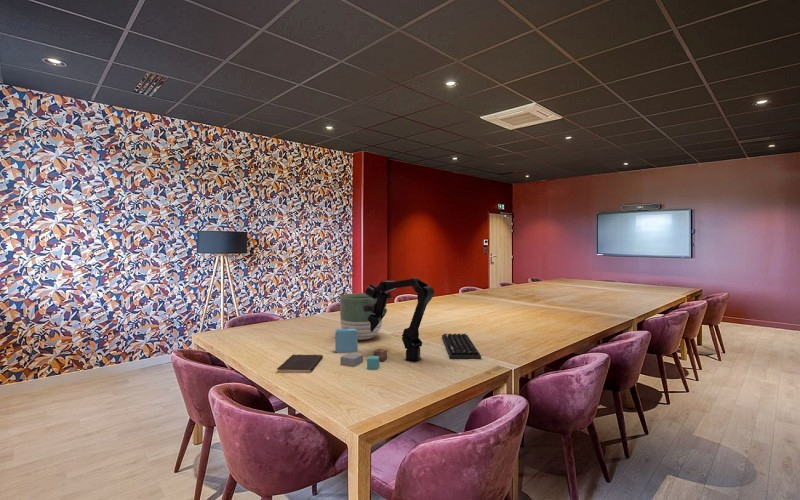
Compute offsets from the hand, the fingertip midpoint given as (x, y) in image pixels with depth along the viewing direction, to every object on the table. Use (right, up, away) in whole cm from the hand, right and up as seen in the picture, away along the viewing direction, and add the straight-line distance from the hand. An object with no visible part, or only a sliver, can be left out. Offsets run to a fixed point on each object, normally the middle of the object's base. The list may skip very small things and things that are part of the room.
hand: (373, 328), depth 212 cm
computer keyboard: (+48, -13, +7) cm, 51 cm away
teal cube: (+2, -13, -27) cm, 30 cm away
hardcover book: (-34, -14, -23) cm, 43 cm away
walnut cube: (+4, -13, -15) cm, 21 cm away
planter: (-10, -13, +30) cm, 34 cm away
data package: (-15, -13, +2) cm, 20 cm away
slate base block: (-9, -14, -20) cm, 26 cm away
